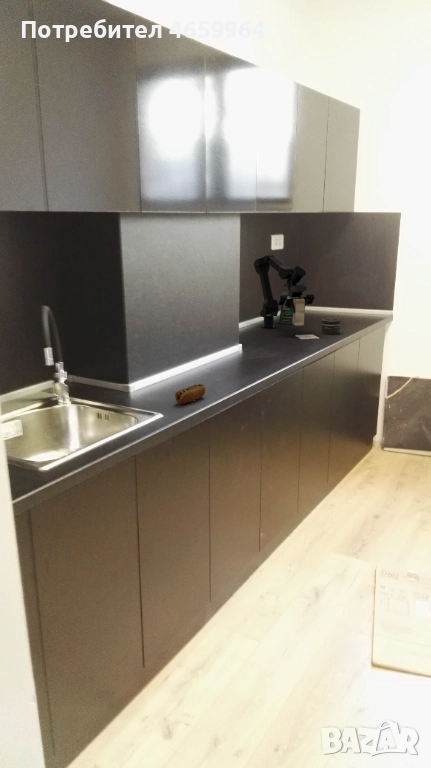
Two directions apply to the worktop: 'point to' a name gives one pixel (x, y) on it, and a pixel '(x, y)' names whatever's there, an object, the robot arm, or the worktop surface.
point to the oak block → (298, 311)
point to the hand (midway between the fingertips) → (299, 312)
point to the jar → (330, 326)
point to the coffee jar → (285, 313)
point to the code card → (306, 336)
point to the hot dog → (190, 393)
